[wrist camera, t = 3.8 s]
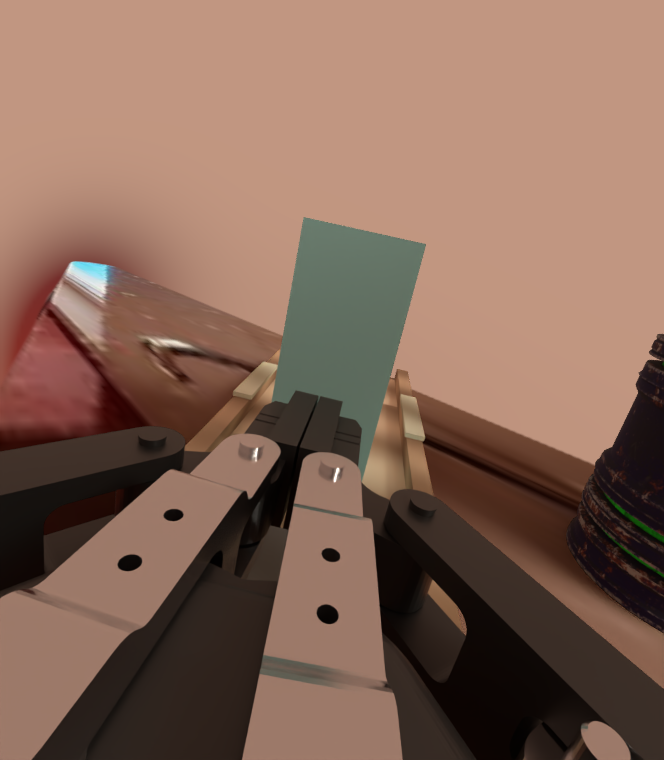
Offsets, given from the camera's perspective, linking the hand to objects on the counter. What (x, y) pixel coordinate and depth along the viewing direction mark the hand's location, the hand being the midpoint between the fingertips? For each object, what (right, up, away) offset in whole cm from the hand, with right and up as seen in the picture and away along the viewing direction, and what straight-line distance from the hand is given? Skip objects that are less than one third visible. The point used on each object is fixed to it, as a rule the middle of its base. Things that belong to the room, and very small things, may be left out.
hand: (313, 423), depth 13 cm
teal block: (0, -3, +10) cm, 10 cm away
